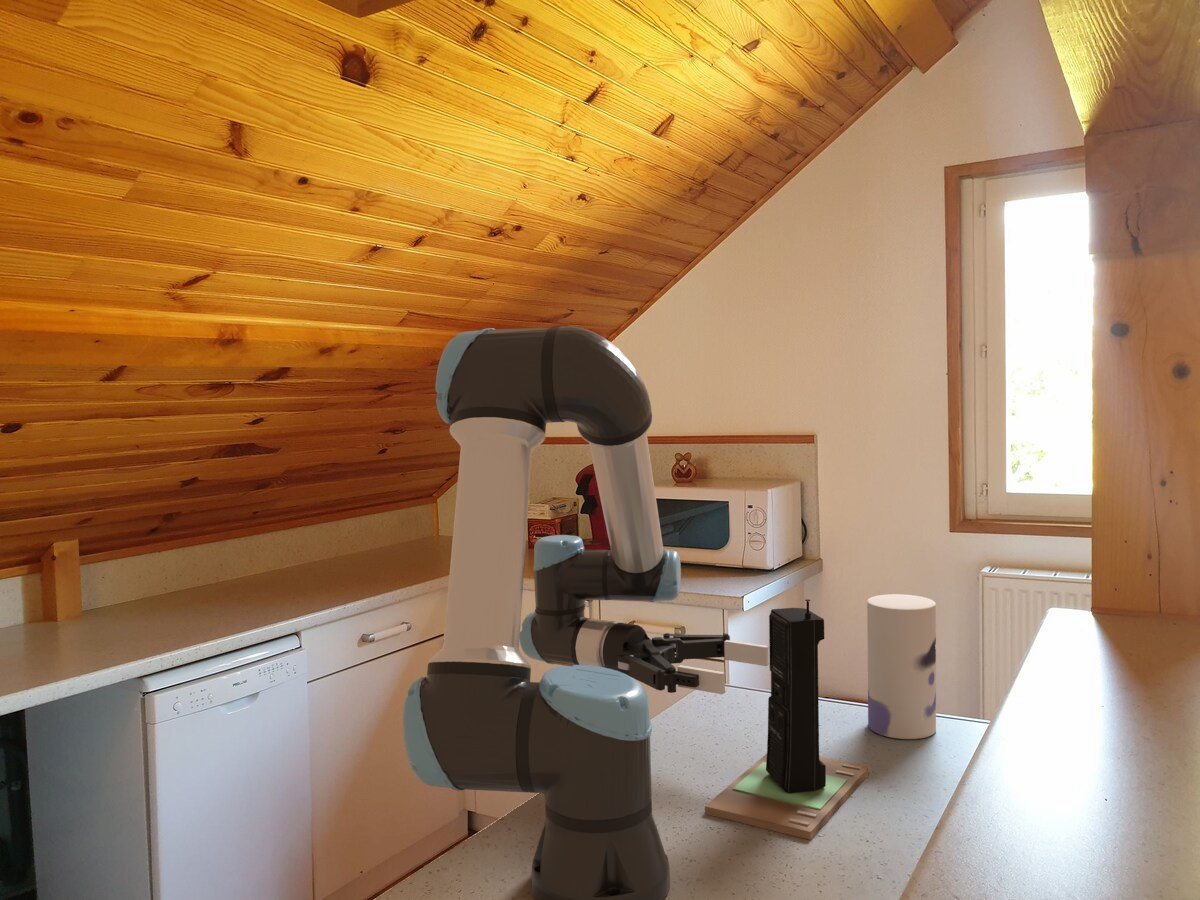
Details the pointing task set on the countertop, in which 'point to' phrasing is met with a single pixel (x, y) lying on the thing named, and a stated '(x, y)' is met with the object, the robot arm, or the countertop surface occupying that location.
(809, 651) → the portable radio
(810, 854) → the countertop surface
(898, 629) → the container
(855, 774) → the board
